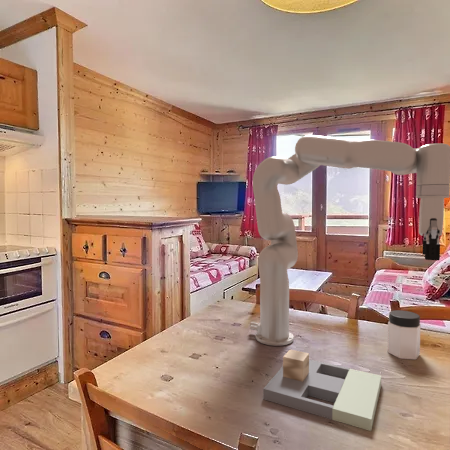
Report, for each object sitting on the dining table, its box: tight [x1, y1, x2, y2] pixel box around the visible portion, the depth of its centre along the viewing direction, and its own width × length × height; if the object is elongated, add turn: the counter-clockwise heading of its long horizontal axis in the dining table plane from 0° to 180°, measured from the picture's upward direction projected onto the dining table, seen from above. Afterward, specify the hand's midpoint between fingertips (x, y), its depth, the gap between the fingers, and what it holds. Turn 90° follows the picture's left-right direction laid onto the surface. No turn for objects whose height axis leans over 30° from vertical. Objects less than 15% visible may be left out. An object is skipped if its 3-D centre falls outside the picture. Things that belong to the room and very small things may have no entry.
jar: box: [387, 309, 422, 360], centre depth 103 cm, size 9×8×12 cm
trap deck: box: [262, 358, 382, 432], centre depth 82 cm, size 23×20×2 cm
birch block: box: [282, 349, 310, 382], centre depth 85 cm, size 5×5×5 cm
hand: (430, 257), depth 91 cm, fingers open, 9 cm apart
